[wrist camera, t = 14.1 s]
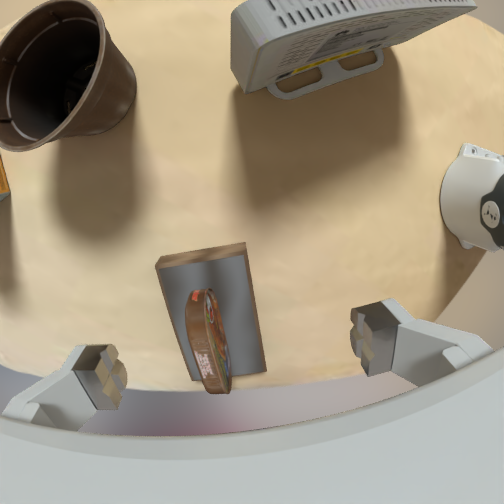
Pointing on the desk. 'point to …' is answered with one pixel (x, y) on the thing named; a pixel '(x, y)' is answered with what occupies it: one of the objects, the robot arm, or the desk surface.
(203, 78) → the desk surface
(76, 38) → the plant pot
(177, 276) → the plinth
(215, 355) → the tin
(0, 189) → the hard drive box
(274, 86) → the network device
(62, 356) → the desk surface
